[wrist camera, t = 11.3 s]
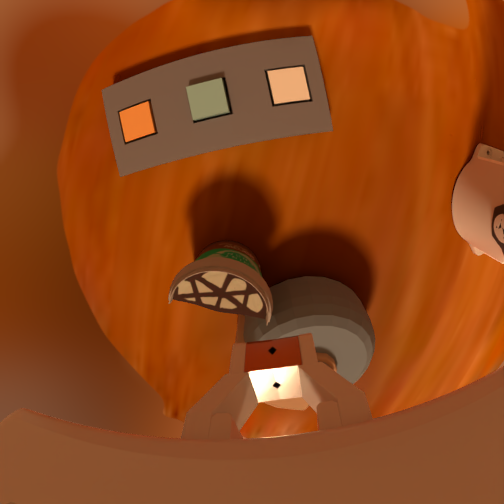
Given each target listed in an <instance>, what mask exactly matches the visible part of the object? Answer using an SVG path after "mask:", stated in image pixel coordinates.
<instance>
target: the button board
mask: <svg viewBox="0 0 504 504" xmlns="http://www.w3.org/2000/svg"><path fill="white" fill-rule="evenodd" d="M295 67H303V69H304V74H305V78H306V83H307V87H308V92H309V97H310V99H309V100H308V101H302V102H294V103H287V104H280V105H274V104H273V99H272V95H271V90H270V85H269V81H268V76H267V71H272V70H279V69H287V68H295ZM219 78H222V79H223V81H224V84H225V89H226V94H227V98H228V103H229V108H230V112H231V113H227V114H222V115H218V116H214V117H209V118H205V119H201V120H197V121H196V120H193V118H192V114H191V109H190V104H189V100H188V95H187V90H186V87H188V86H191V85H195V84H199V83H203V82H207V81H211V80H215V79H219ZM102 95H103V100H104V106H105V112H106V117H107V122H108V127H109V132H110V136H111V141H112V145H113V150H114V154H115V158H116V162H117V166H118V170H119V174H120V177H122V176H125V175H128V174H131V173H134V172H137V171H140V170H144V169H147V168H150V167H154V166H157V165H160V164H164V163H168V162H171V161H175V160H179V159H182V158H186V157H190V156H194V155H198V154H202V153H207V152H211V151H215V150H220V149H224V148H229V147H234V146H239V145H244V144H249V143H254V142H259V141H265V140H271V139H277V138H283V137H289V136H296V135H303V134H311V133H319V132H328V131H333V127H332V122H331V116H330V111H329V105H328V100H327V95H326V91H325V86H324V81H323V77H322V73H321V68H320V64H319V60H318V56H317V52H316V48H315V44H314V40H313V37H312V36H302V37H291V38H281V39H273V40H266V41H259V42H253V43H247V44H242V45H237V46H232V47H227V48H222V49H218V50H214V51H210V52H206V53H202V54H198V55H194V56H191V57H187V58H184V59H181V60H177V61H174V62H171V63H168V64H165V65H162V66H159V67H156V68H153V69H151V70H148V71H145V72H143V73H140V74H138V75H135V76H132V77H130V78H128V79H125V80H123V81H121V82H118V83H116V84H114V85H111V86H109V87H107V88H105V89H103V90H102ZM147 101H149V102H151V104H152V108H153V113H154V118H155V123H156V127H157V132H158V133H155V134H152V135H149V136H146V137H143V138H140V139H137V140H134V141H131V142H125V137H124V133H123V128H122V123H121V118H120V113H119V112H121V111H124V110H126V109H129V108H131V107H134V106H136V105H139V104H142V103H145V102H147Z"/></svg>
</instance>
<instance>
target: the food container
mask: <svg viewBox="0 0 504 504" xmlns="http://www.w3.org/2000/svg"><path fill="white" fill-rule="evenodd" d="M173 299H174V300H177V301H183V302H188V303H192V304H196V305H199V306H202V307H205V308H208V309H211V310H215V311H218V312H224V313H233V314H241V315H246V316H251V317H256V318H261V319H266V325H268V322H270V319H271V316H272V311H273V299H272V294H271V291H270V289H269V287H268V285H267V283H266V282H265V280H264V279H263V278H262V273H261V269H260V264H259V262H258V260H257V258H256V256H255V254H254V253H253V252H252V251H251V250H250V249H249V248H248V247H246V246H244V245H243V244H241V243H238V242H235V241H218V242H215V243H212V244H210V245H209V246H207V247H206V248H205V249H204V250H203V251H202V252H201V253H200V254H199V255H198V257H197V258H196V259H195V261H194V262H192V263H190V264H188V265H187V266H185V267H184V268H183V269H182V270H181V271H180V272H179V273H178V274H177V275H176V277H175V278H174V280H173V282H172V284H171V287H170V292H169V298H168V300H169V304H170V303H171V301H172V300H173Z"/></svg>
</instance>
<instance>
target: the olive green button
mask: <svg viewBox="0 0 504 504" xmlns="http://www.w3.org/2000/svg"><path fill="white" fill-rule="evenodd" d="M186 90H187V95H188V100H189V104H190V109H191V114H192V118H193V120H196V121H197V120H201V119H205V118H209V117H214V116H218V115H222V114H227V113H231V112H230V108H229V103H228V98H227V94H226V89H225V84H224V81H223V79H222V78H219V79H215V80H211V81H207V82H203V83H199V84H195V85H191V86H188V87H186Z"/></svg>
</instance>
